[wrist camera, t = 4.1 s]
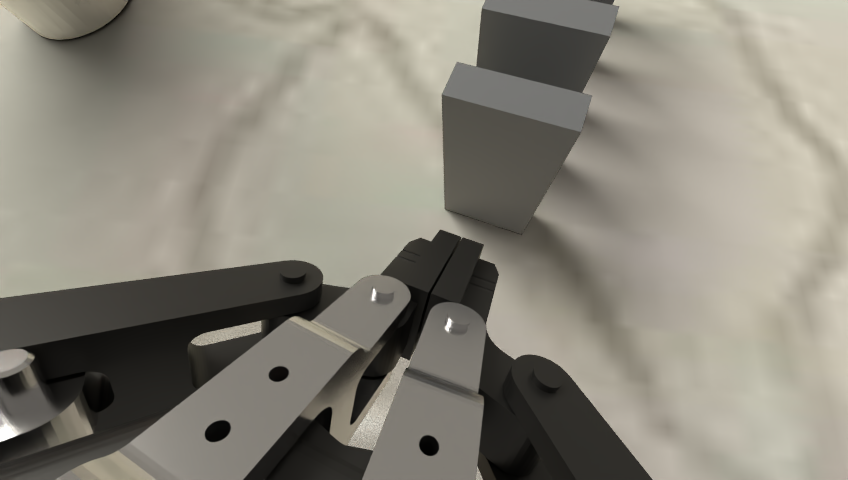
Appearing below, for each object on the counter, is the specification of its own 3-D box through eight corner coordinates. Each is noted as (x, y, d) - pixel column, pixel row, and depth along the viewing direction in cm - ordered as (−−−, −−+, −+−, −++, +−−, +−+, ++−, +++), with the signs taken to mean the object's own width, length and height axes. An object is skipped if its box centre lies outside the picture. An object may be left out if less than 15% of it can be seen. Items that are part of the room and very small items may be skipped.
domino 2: (444, 208, 22) (441, 94, 12) (453, 187, 22) (457, 62, 13) (521, 234, 21) (581, 131, 12) (529, 211, 21) (592, 95, 12)
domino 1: (468, 151, 23) (481, 8, 14) (476, 132, 24) (494, -19, 14) (541, 173, 22) (610, 36, 13) (548, 153, 23) (619, 6, 13)
